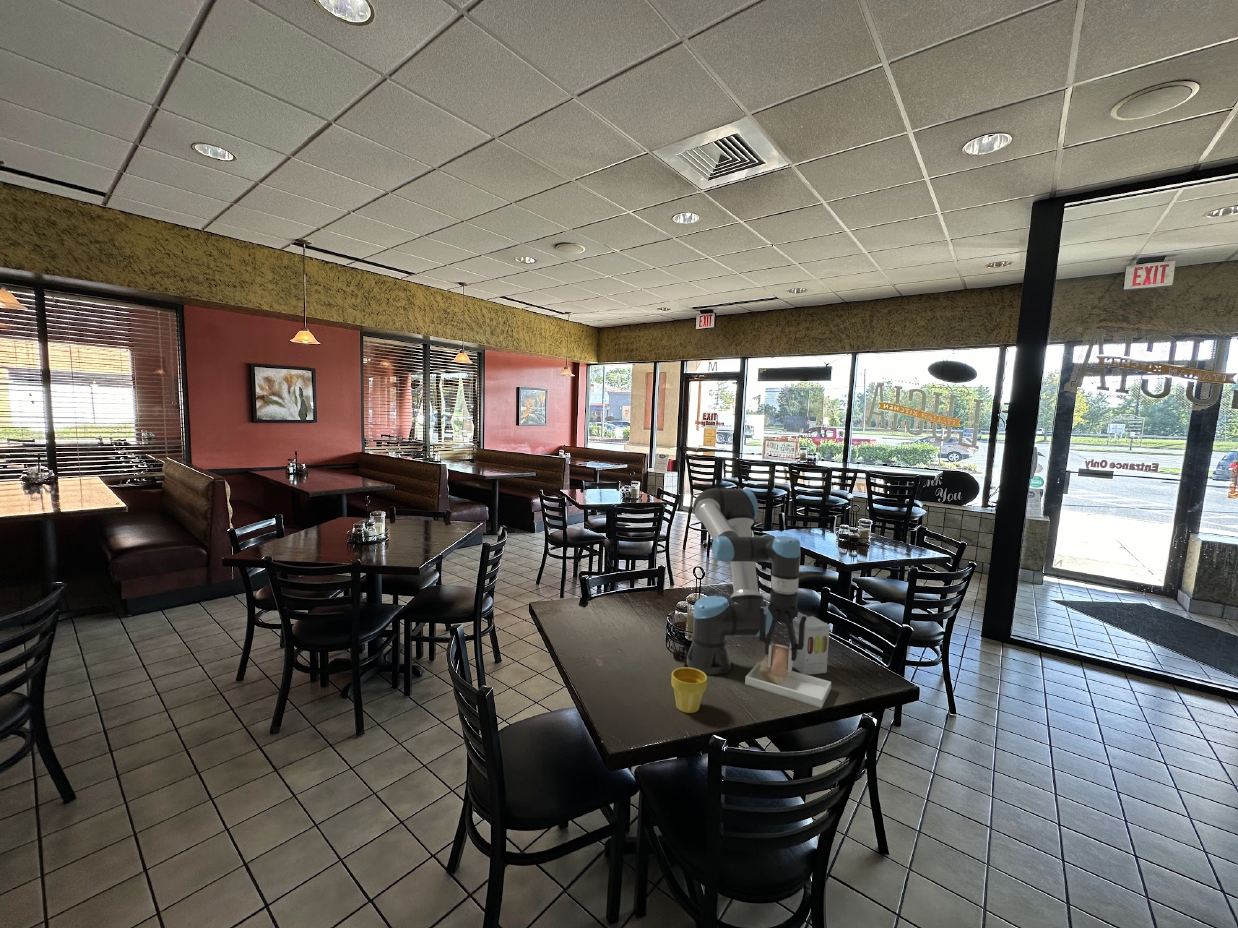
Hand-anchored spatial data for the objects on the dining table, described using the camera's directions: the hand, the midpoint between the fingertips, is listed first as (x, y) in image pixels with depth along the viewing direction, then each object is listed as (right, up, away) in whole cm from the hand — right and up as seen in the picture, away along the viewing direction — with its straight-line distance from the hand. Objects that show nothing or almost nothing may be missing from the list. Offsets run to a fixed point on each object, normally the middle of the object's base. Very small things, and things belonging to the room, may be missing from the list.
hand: (779, 667), depth 149 cm
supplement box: (+19, -12, +28) cm, 36 cm away
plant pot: (-27, -12, +1) cm, 30 cm away
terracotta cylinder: (0, -2, 0) cm, 2 cm away
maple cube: (+3, -11, +18) cm, 21 cm away
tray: (+7, -12, +14) cm, 20 cm away
